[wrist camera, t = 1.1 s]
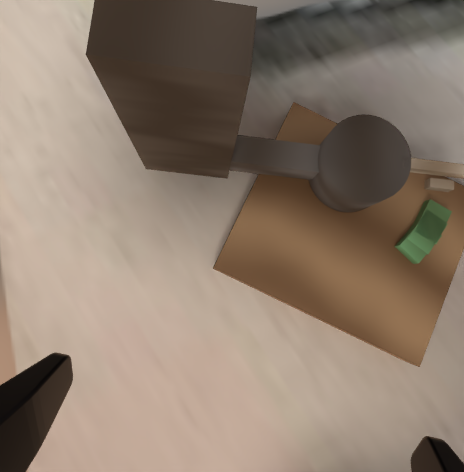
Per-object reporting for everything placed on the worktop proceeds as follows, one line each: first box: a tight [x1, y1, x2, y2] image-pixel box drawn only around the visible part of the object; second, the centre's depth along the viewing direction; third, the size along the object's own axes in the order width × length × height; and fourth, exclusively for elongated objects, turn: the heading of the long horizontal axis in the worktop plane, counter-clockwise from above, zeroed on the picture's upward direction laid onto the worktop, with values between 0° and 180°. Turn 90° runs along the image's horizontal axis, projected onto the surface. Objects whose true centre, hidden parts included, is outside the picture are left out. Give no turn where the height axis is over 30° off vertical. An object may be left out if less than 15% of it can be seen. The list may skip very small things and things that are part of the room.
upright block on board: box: [86, 0, 464, 212], centre depth 17 cm, size 20×5×11 cm, turn 84°
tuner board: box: [213, 102, 464, 367], centre depth 23 cm, size 12×14×2 cm
